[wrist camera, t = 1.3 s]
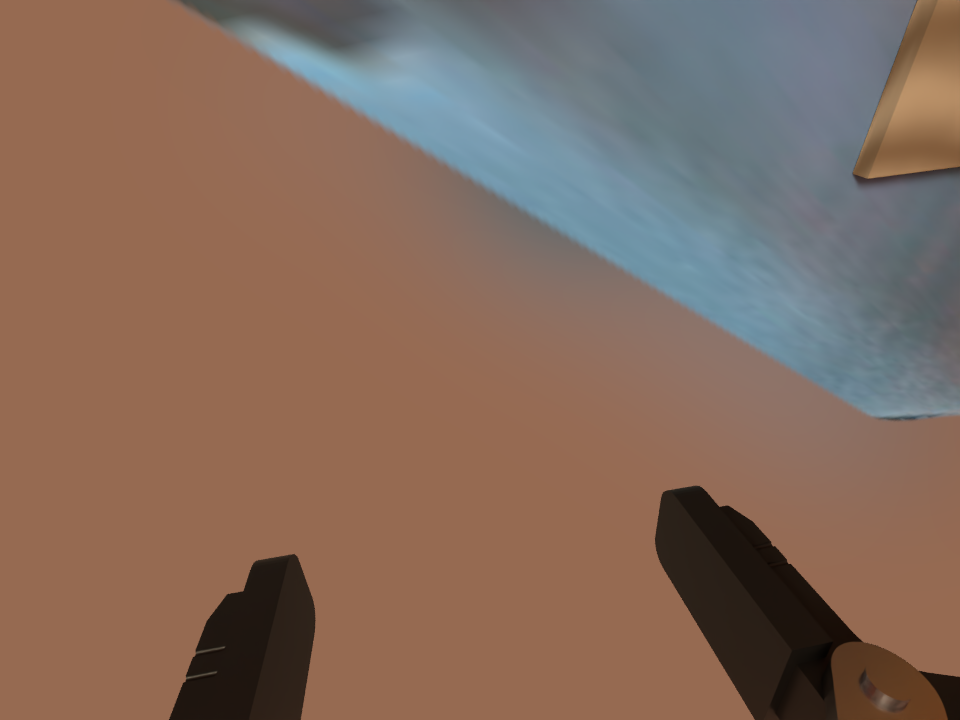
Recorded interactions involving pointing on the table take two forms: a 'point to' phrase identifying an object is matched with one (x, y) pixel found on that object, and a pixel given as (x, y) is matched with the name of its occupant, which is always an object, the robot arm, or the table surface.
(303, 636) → the robot arm
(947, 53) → the base board
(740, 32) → the table surface
